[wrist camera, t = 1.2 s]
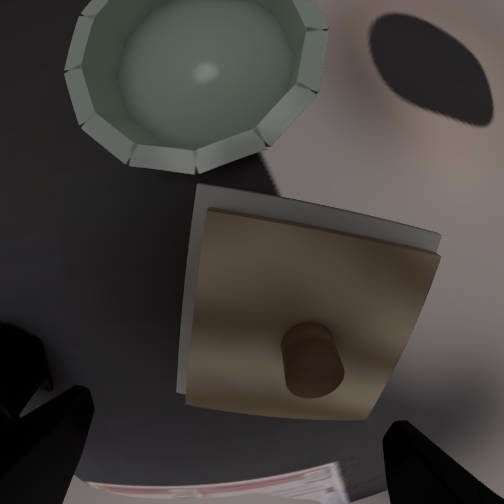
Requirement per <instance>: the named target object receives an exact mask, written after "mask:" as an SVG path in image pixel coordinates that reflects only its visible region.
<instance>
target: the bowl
mask: <svg viewBox="0 0 504 504" xmlns="http://www.w3.org/2000/svg"><path fill="white" fill-rule="evenodd" d="M81 14H82V15H84V16H81V17H79V18H78V21H77V24H76V28H75V31H74V34H73V38H72V41H71V45H70V49H69V53H68V57H67V61H66V65H65V69H64V70H65V71H68V72H66V73H65V74H64V75H65V79H66V83H67V86H68V90H69V93H70V97H71V100H72V104H73V107H74V110H75V114H76V117H77V120H78V123H79V125H82V126H83V127H82V128H81V129H83V130H84V131H85V132H86V133H87V134H89V135H90V136H91V137H92V138H94V139H95V140H96V141H97V142H98V143H100V144H101V145H102V146H103V147H105V148H106V149H107V150H108V151H109V152H111V153H112V154H113V155H114V156H116V157H117V158H118V159H119V160H120V161H122V162H123V163H124V164H129V166H133V167H141V168H150V169H158V170H165V171H173V172H180V173H187V174H196V173H199V174H200V173H203V172H205V171H208V170H211V169H213V168H216V167H218V166H221V165H224V164H226V163H229V162H232V161H235V160H237V159H240V158H243V157H246V156H249V155H251V154H254V153H257V152H260V151H263V150H266V147H270V146H272V145H273V143H274V142H275V141H276V140H277V139H278V138H279V137H280V136H281V134H282V133H283V132H284V131H285V130H286V129H287V128H288V127H289V126H290V124H291V123H292V122H293V121H294V120H295V119H296V118H297V117H298V115H300V114H301V112H302V111H303V110H304V109H305V108H306V107H307V106H308V105H309V104H310V103H311V102H312V101H313V99H314V98H315V97H316V96H317V95H316V94H317V93H318V92H319V90H320V84H321V79H322V73H323V67H324V62H325V56H326V49H327V44H328V38H329V32H327V30H328V29H329V28H328V25H327V23H326V21H325V19H324V17H323V15H322V13H321V11H320V9H319V7H318V5H317V3H316V1H315V0H92V1H91V2H90V3H89V4H88V5H87V7H86V8H85V9H84V10H83V11H82V13H81Z"/></svg>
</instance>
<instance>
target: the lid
mask: <svg viewBox="0 0 504 504" xmlns="http://www.w3.org/2000/svg"><path fill="white" fill-rule="evenodd" d="M440 259H441V256H439V255H438V254H437V253H435V252H434V251H430V250H425V249H421V248H417V247H412V246H408V245H404V244H399V243H395V242H390V241H385V240H381V239H376V238H372V237H367V236H362V235H357V234H353V233H348V232H343V231H338V230H333V229H328V228H323V227H318V226H313V225H308V224H302V223H297V222H292V221H287V220H281V219H276V218H271V217H265V216H259V215H254V214H248V213H243V212H237V211H231V210H225V209H219V208H213V207H209V208H208V210H207V213H206V219H205V226H204V233H203V241H202V248H201V256H200V263H199V271H198V279H197V287H196V296H195V305H194V314H193V323H192V333H191V343H190V353H189V364H188V376H187V388H186V401H185V404H186V405H191V406H197V407H202V408H208V409H214V410H221V411H228V412H235V413H243V414H251V415H260V416H270V417H281V418H295V419H315V420H366V418H367V417H368V415H369V413H370V412H371V410H372V408H373V407H374V405H375V403H376V401H377V400H378V398H379V396H380V394H381V393H382V391H383V389H384V387H385V385H386V384H387V382H388V380H389V378H390V376H391V374H392V372H393V370H394V368H395V366H396V364H397V362H398V360H399V358H400V356H401V354H402V352H403V350H404V348H405V346H406V344H407V342H408V339H409V337H410V335H411V333H412V331H413V328H414V326H415V324H416V321H417V319H418V317H419V314H420V312H421V309H422V307H423V305H424V302H425V300H426V297H427V295H428V292H429V289H430V287H431V284H432V281H433V279H434V276H435V273H436V270H437V267H438V264H439V262H440Z"/></svg>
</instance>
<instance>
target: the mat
mask: <svg viewBox="0 0 504 504" xmlns="http://www.w3.org/2000/svg"><path fill="white" fill-rule="evenodd" d="M209 207H213V208H219V209H225V210H231V211H237V212H243V213H248V214H254V215H259V216H265V217H271V218H276V219H281V220H287V221H292V222H297V223H302V224H308V225H313V226H318V227H323V228H328V229H333V230H338V231H343V232H348V233H353V234H357V235H362V236H367V237H372V238H376V239H381V240H385V241H390V242H395V243H399V244H404V245H408V246H412V247H417V248H421V249H425V250H430V251H434V252H435V253H436V251H437V248H438V245H439V242H440V239H441V235H440V234H438V233H436V232H432V231H429V230H425V229H421V228H418V227H414V226H410V225H406V224H402V223H397V222H394V221H390V220H386V219H382V218H377V217H373V216H369V215H365V214H361V213H356V212H351V211H347V210H343V209H338V208H334V207H329V206H325V205H319V204H315V203H310V202H305V201H300V200H295V199H290V198H285V197H280V196H275V195H269V194H264V193H259V192H253V191H247V190H242V189H236V188H230V187H224V186H218V185H212V184H205V183H197V188H196V195H195V202H194V209H193V217H192V224H191V232H190V240H189V248H188V257H187V266H186V275H185V284H184V294H183V305H182V316H181V328H180V341H179V356H178V372H177V391H176V393H181V394H186V388H187V376H188V364H189V353H190V343H191V333H192V323H193V314H194V305H195V296H196V287H197V279H198V271H199V263H200V256H201V248H202V241H203V233H204V226H205V219H206V213H207V210H208V208H209Z"/></svg>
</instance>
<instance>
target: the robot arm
mask: <svg viewBox="0 0 504 504" xmlns="http://www.w3.org/2000/svg"><path fill="white" fill-rule="evenodd" d="M38 388H41V389H43V390H45V391H48V392H51V391H52V390H53V386H52V382H51V379H50V375H49V371H48V367H47V364H46V360H45V355H44V351H43V347H42V343H41V341H40V340H39V339H38V338H35V337H33V336H30V335H28V334H25V333H22V332H20V331H18V330H15V329H13V328H10V327H8V326H6V325H3V324H1V323H0V504H62V503H63V500H64V498H65V495H66V493H67V490H68V488H69V485H70V482H71V480H72V477H73V475H74V472H75V470H76V467H77V465H78V463H79V460H80V458H81V455H82V452H83V449H84V445H85V442H86V438H87V435H88V431H89V428H90V424H91V421H92V418H93V414H94V404H93V400H92V396H91V392H90V390H89V389H88V388H86V387H83V386H80V385H75V386H73V387H71V388H70V389H68V390H66V391H65V392H63V393H61V394H60V395H58V396H56V397H55V398H53V399H52V400H50V401H48V402H47V403H45V404H43V405H42V406H40V407H38V408H37V409H35V410H33V411H32V412H30V413H28V414H27V415H25V416H23V417H21V418H20V417H19V415H20V413H21V412H22V410H23V409H24V407H25V406H26V404H27V403H28V402H29V400H30V399H31V397H32V396H33V395H34V393H35V392H36V390H37V389H38ZM383 452H384V462H385V473H386V482H387V487H388V492H389V497H390V502H391V504H504V499H503V498H502V497H500V496H499V495H497V494H496V493H494V492H493V491H492V490H490V489H489V488H488V487H487V486H485V485H484V484H483V483H481V482H480V481H478V479H476V478H475V477H474V476H473V475H472V474H470V473H469V472H468V471H467V470H465V469H464V468H463V467H462V466H461V465H459V464H458V463H457V462H456V461H455V460H453V459H452V458H451V457H450V456H449V455H447V454H446V453H445V452H444V451H443V450H441V449H440V448H439V447H438V446H437V445H435V444H434V443H433V442H432V441H430V440H429V439H428V438H427V437H426V436H425V435H424V434H422V433H421V432H420V431H419V430H418V429H417V428H415V427H414V426H413V425H412V424H410V422H408V421H407V420H398V421H394V422H393V423H392V425H391V426H390V428H389V429H388V431H387V432H386V434H385V435H384V438H383Z"/></svg>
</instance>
